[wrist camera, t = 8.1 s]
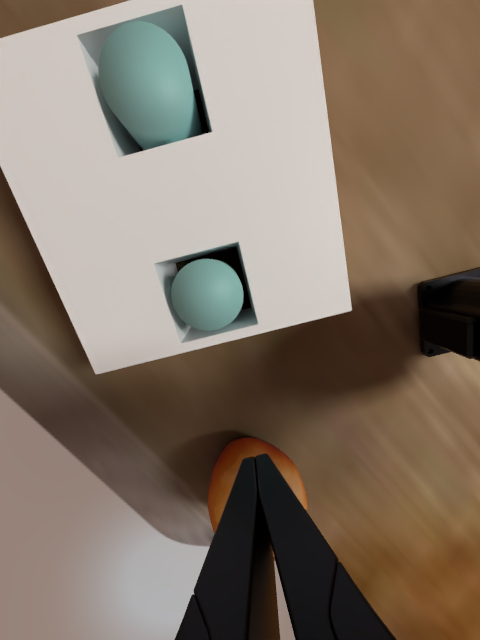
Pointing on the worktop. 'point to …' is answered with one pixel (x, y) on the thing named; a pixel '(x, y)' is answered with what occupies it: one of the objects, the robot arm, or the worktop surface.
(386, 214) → the worktop surface
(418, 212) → the worktop surface
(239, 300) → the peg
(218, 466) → the fruit
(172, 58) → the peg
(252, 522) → the robot arm
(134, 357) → the socket board
